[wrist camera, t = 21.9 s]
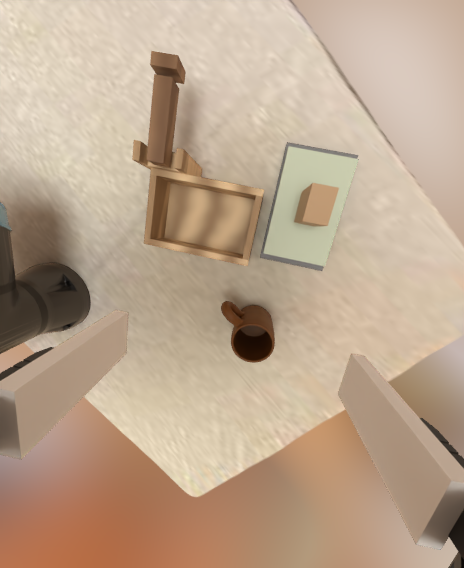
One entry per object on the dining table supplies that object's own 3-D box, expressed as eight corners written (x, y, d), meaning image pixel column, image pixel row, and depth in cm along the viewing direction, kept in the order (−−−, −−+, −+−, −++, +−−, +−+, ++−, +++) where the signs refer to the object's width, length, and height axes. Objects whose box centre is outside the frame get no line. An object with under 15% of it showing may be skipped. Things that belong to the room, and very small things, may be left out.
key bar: (152, 164, 34) (142, 158, 31) (161, 67, 31) (151, 51, 28) (173, 168, 34) (165, 163, 31) (185, 71, 30) (177, 55, 28)
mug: (214, 303, 47) (204, 321, 38) (242, 280, 45) (238, 293, 36) (251, 344, 48) (249, 371, 39) (279, 324, 47) (284, 347, 37)
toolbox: (155, 240, 45) (126, 243, 35) (164, 161, 41) (133, 140, 31) (248, 260, 44) (246, 269, 34) (266, 181, 40) (269, 165, 30)
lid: (287, 150, 38) (297, 124, 29) (353, 163, 38) (386, 140, 28) (263, 252, 43) (264, 259, 33) (321, 264, 42) (340, 275, 32)
